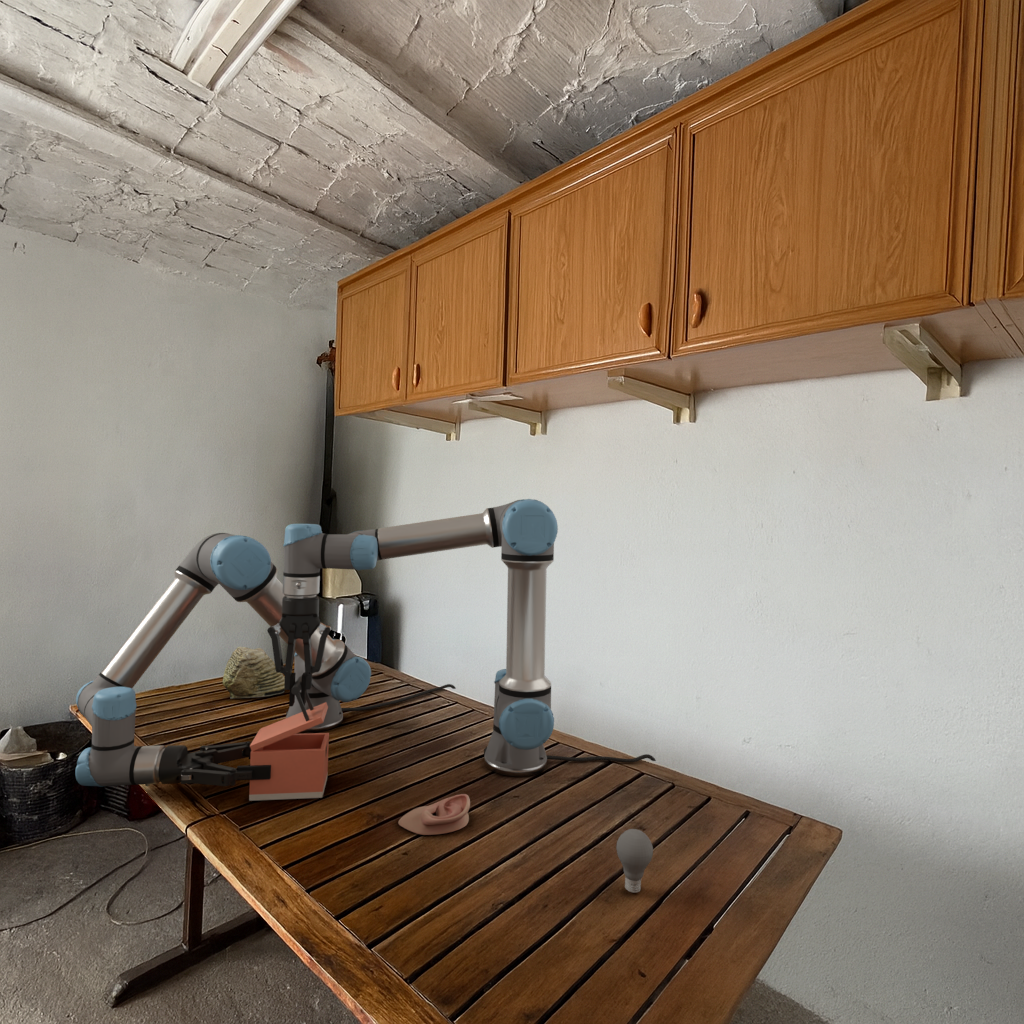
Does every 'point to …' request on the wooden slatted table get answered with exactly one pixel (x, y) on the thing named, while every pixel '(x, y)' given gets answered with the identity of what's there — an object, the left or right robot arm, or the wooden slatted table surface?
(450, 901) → the wooden slatted table surface
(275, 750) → the chest
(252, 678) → the fossil
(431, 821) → the anatomical model
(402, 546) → the right robot arm
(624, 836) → the light bulb
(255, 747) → the lid
